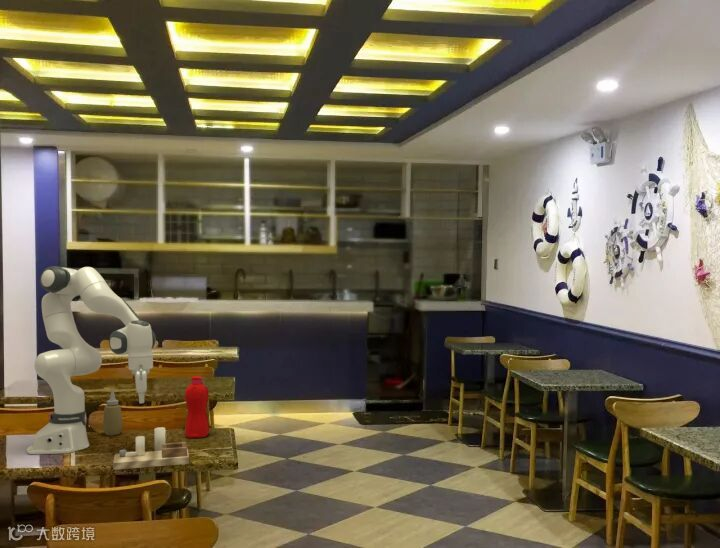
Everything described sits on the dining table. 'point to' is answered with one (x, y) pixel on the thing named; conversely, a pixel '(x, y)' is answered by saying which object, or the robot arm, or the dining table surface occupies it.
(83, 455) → the dining table surface
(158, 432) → the loose leg
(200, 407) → the water bottle
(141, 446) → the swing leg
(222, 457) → the dining table surface
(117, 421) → the squeeze bottle
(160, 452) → the wooden board with socket
